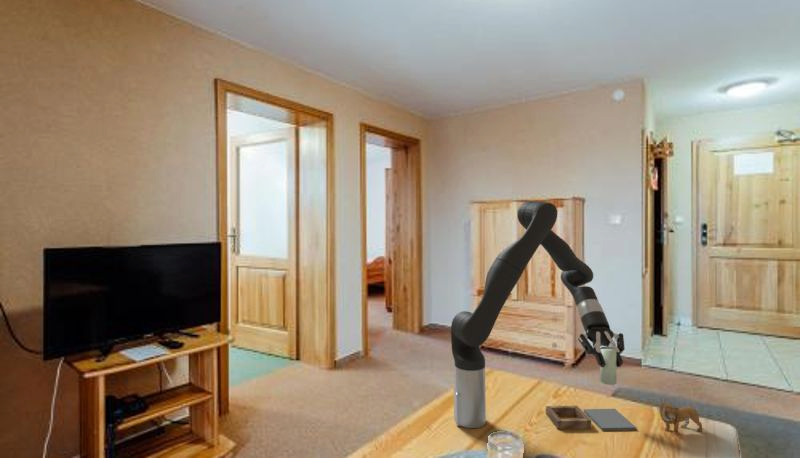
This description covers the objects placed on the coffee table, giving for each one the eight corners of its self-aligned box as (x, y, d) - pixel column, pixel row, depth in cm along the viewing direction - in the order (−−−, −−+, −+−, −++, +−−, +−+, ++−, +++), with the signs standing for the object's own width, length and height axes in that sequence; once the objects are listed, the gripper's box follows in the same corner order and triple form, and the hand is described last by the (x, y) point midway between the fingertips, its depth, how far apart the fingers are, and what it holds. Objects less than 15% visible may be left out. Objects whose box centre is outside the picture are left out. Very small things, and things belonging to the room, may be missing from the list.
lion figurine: (671, 440, 114) (671, 408, 114) (653, 431, 119) (653, 400, 119) (708, 430, 119) (708, 399, 119) (689, 422, 124) (689, 392, 124)
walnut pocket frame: (558, 429, 121) (557, 421, 121) (545, 413, 131) (545, 406, 131) (591, 428, 121) (591, 420, 121) (576, 413, 131) (576, 405, 131)
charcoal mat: (602, 430, 120) (602, 428, 120) (583, 411, 132) (583, 409, 132) (636, 430, 120) (636, 427, 120) (614, 411, 132) (614, 408, 132)
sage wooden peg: (604, 384, 124) (604, 351, 124) (597, 379, 128) (597, 347, 128) (619, 384, 124) (619, 351, 124) (611, 378, 128) (611, 346, 128)
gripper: (574, 310, 133) (592, 360, 121) (618, 309, 133) (640, 359, 121) (567, 322, 138) (584, 372, 126) (610, 322, 138) (630, 371, 127)
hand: (611, 365), depth 124 cm, fingers closed on sage wooden peg, 4 cm apart
